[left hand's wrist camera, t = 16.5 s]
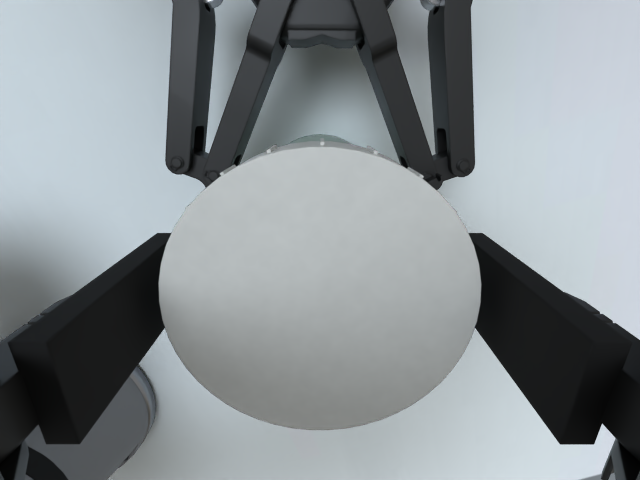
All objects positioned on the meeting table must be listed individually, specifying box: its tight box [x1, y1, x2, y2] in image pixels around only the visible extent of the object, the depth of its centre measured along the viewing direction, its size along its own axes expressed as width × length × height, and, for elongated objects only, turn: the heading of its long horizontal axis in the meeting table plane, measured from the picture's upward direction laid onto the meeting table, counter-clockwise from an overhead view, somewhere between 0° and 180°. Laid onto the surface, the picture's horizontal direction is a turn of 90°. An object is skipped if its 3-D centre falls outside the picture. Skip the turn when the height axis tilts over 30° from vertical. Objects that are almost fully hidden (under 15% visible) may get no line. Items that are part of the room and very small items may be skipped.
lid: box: [159, 138, 481, 430], centre depth 11 cm, size 10×10×2 cm
